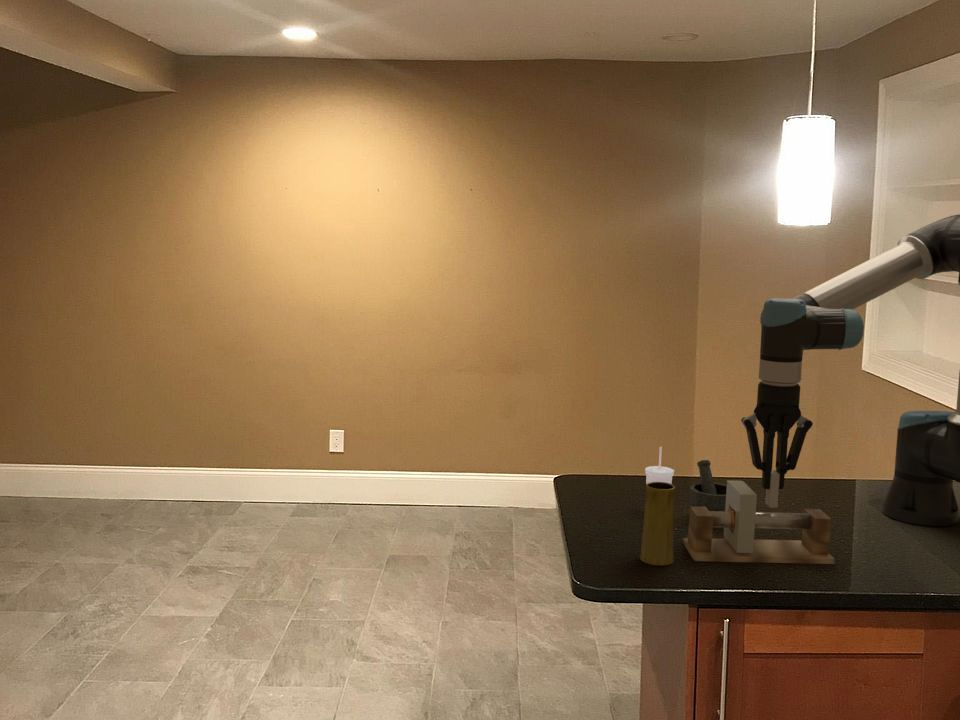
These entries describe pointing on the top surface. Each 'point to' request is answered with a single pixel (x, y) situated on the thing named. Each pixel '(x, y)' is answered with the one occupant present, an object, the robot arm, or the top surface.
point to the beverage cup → (659, 472)
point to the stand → (759, 542)
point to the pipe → (765, 520)
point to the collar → (741, 516)
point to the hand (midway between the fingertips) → (771, 505)
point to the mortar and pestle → (708, 490)
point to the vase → (658, 524)
